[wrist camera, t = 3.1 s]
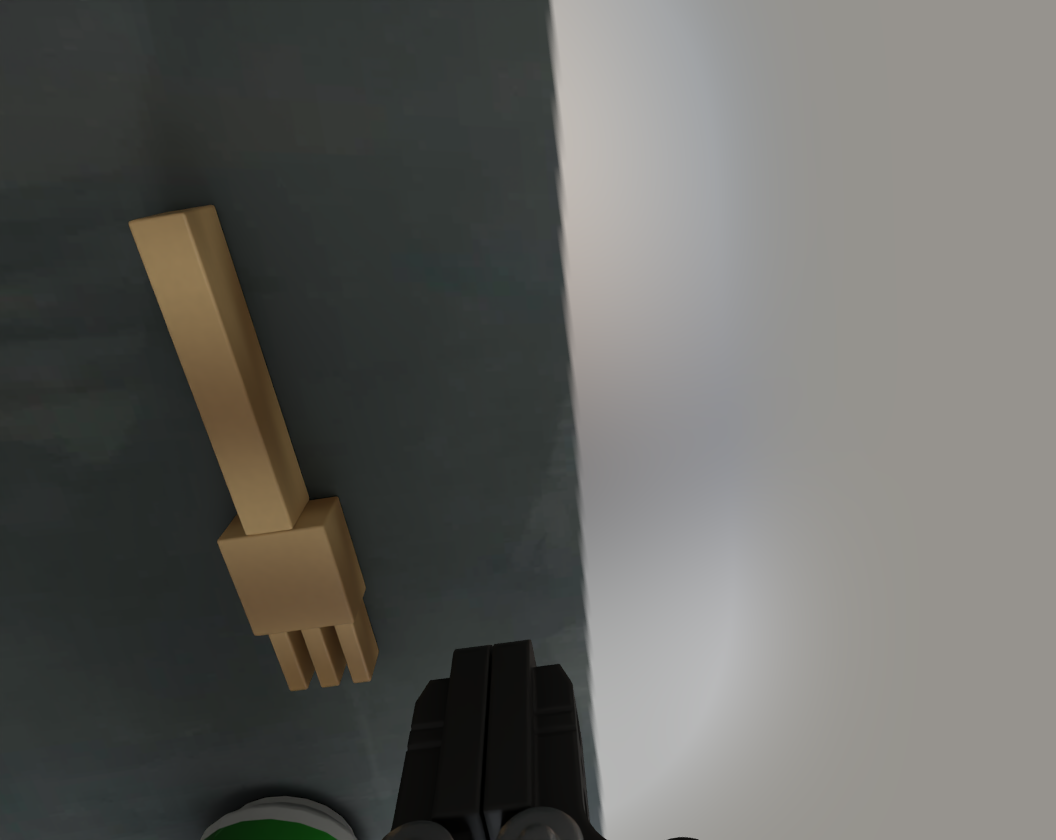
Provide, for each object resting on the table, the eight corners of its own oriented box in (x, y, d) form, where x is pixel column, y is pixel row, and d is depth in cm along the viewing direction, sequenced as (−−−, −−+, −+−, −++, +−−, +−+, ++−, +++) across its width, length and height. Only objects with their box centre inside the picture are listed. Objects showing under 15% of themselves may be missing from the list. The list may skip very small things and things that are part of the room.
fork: (129, 218, 20) (90, 227, 18) (248, 198, 20) (220, 205, 18) (296, 662, 27) (279, 701, 25) (385, 650, 26) (375, 689, 25)
